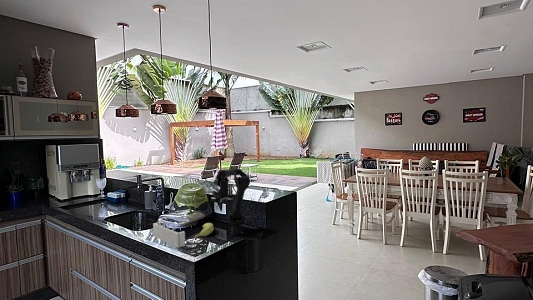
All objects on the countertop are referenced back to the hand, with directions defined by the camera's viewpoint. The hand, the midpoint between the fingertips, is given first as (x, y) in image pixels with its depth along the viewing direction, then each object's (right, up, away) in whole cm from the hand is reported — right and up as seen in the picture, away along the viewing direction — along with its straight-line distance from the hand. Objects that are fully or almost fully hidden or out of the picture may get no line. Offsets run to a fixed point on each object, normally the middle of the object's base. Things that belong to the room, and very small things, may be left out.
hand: (224, 210), depth 201 cm
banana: (-12, -13, -11) cm, 21 cm away
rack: (-30, -13, -25) cm, 41 cm away
